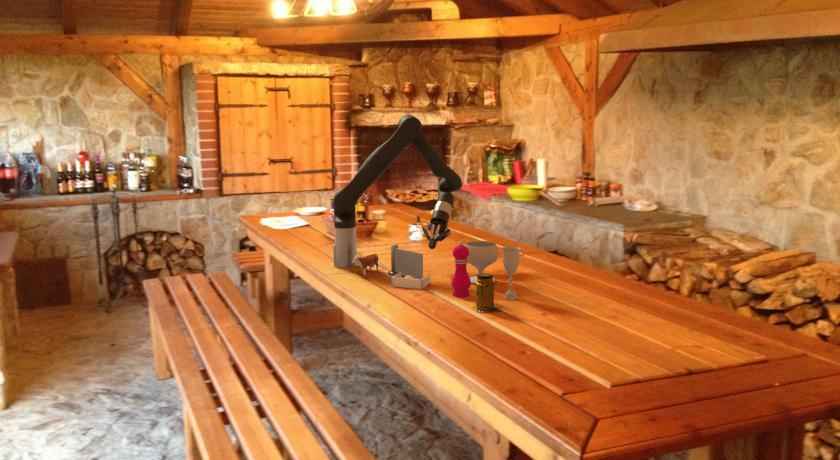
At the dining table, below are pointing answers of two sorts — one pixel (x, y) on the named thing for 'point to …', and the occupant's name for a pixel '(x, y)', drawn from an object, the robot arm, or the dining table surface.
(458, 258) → the pepper mill
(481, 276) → the condiment
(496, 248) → the chalice
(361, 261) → the bull figurine
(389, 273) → the lever base
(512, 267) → the chalice
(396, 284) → the pocket
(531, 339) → the dining table surface
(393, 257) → the paddle
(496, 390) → the dining table surface
